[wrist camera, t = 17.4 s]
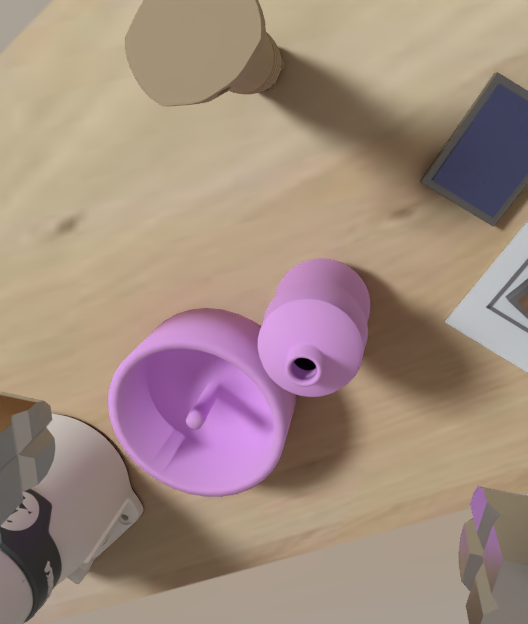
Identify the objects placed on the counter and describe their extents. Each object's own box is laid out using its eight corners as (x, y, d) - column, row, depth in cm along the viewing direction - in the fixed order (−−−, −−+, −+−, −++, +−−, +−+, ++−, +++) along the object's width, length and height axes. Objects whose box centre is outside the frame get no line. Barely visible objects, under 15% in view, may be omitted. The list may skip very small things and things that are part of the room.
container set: (220, 475, 50) (171, 588, 38) (111, 371, 48) (24, 456, 36) (421, 333, 40) (439, 427, 28) (294, 195, 38) (256, 233, 26)
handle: (317, 73, 35) (280, 50, 21) (241, 121, 37) (162, 127, 23) (285, 6, 34) (223, -66, 20) (209, 59, 36) (106, 27, 22)
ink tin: (490, 223, 36) (494, 227, 35) (420, 180, 36) (421, 183, 35) (571, 121, 33) (578, 121, 31) (494, 73, 32) (498, 72, 31)
